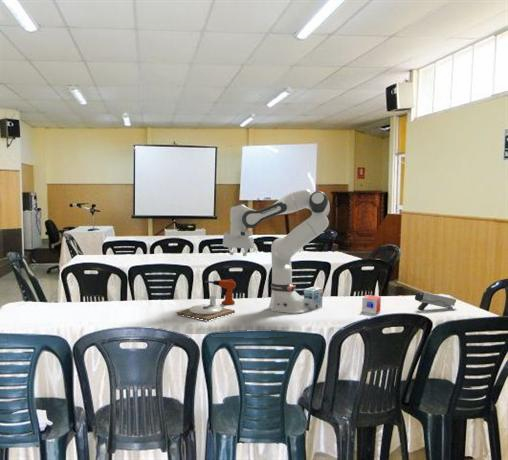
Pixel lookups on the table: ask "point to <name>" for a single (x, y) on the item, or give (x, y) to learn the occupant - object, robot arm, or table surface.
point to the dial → (206, 308)
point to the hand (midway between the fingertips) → (238, 255)
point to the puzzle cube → (371, 304)
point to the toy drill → (226, 290)
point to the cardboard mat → (206, 317)
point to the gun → (434, 300)
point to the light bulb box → (313, 297)
